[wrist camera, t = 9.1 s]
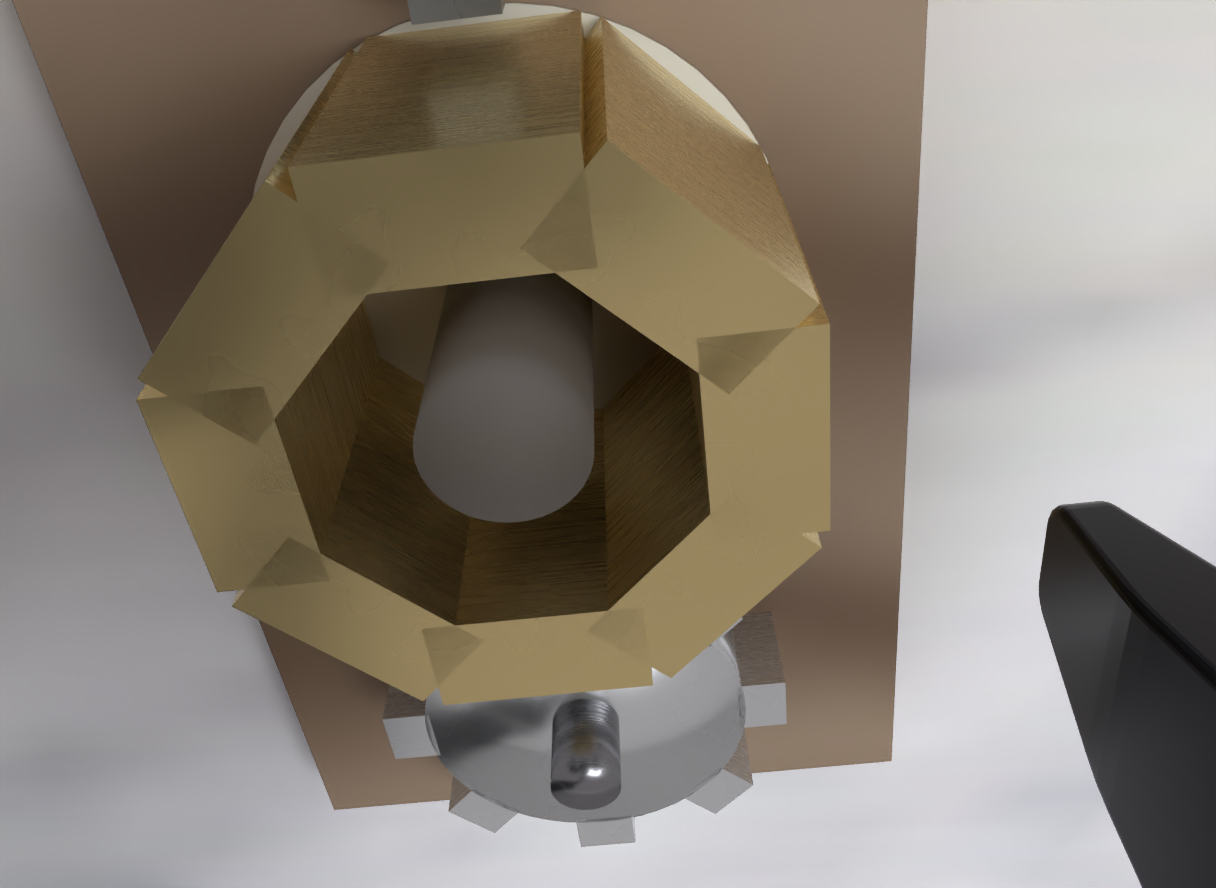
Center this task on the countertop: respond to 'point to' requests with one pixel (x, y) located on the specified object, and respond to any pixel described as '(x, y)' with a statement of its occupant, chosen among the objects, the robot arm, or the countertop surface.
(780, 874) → the countertop surface
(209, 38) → the gear board
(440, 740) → the gear
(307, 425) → the tan hollow octagonal ring
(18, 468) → the countertop surface
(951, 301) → the countertop surface
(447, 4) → the gear
